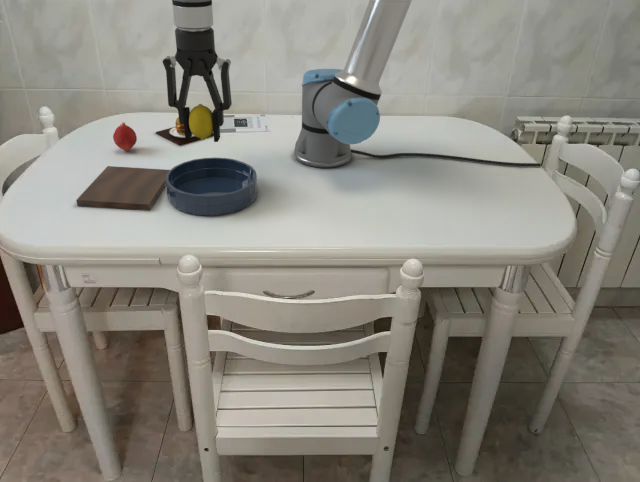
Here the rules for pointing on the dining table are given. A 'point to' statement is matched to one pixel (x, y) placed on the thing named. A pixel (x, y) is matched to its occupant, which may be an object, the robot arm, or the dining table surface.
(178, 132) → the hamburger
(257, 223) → the dining table surface
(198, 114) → the lemon
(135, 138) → the onion
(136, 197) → the board
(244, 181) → the bowl
